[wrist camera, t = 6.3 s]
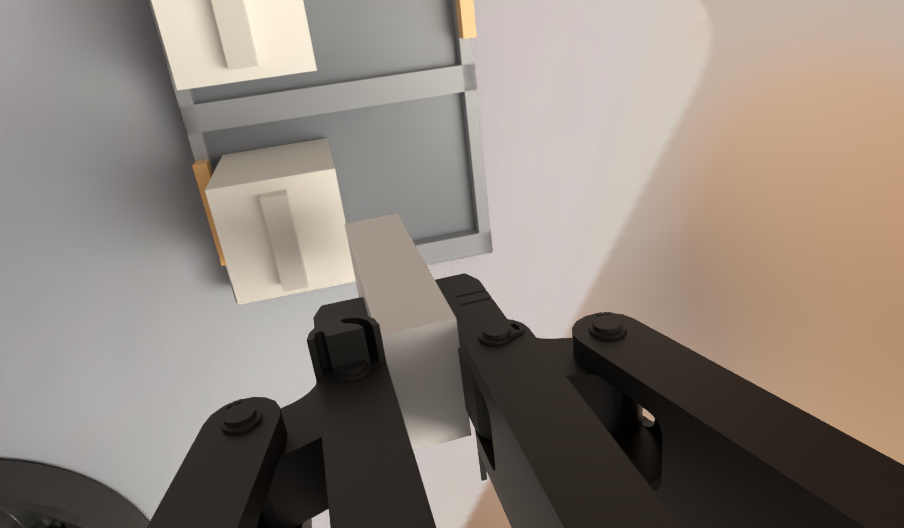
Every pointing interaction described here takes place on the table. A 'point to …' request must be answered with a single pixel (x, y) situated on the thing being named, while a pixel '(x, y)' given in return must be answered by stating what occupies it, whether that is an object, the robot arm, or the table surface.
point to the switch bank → (369, 118)
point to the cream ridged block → (233, 40)
